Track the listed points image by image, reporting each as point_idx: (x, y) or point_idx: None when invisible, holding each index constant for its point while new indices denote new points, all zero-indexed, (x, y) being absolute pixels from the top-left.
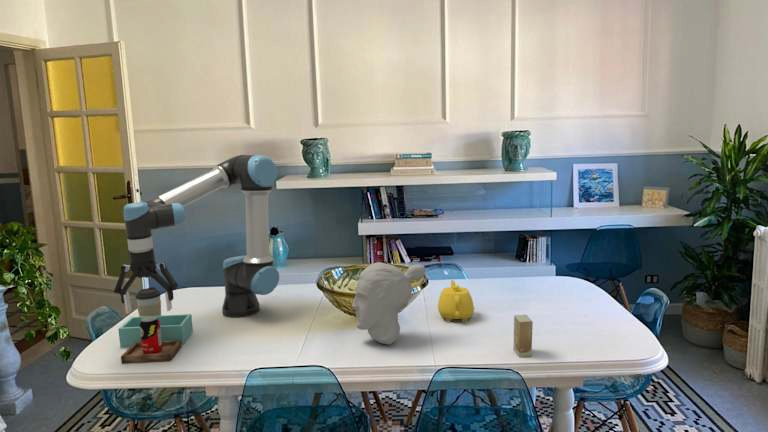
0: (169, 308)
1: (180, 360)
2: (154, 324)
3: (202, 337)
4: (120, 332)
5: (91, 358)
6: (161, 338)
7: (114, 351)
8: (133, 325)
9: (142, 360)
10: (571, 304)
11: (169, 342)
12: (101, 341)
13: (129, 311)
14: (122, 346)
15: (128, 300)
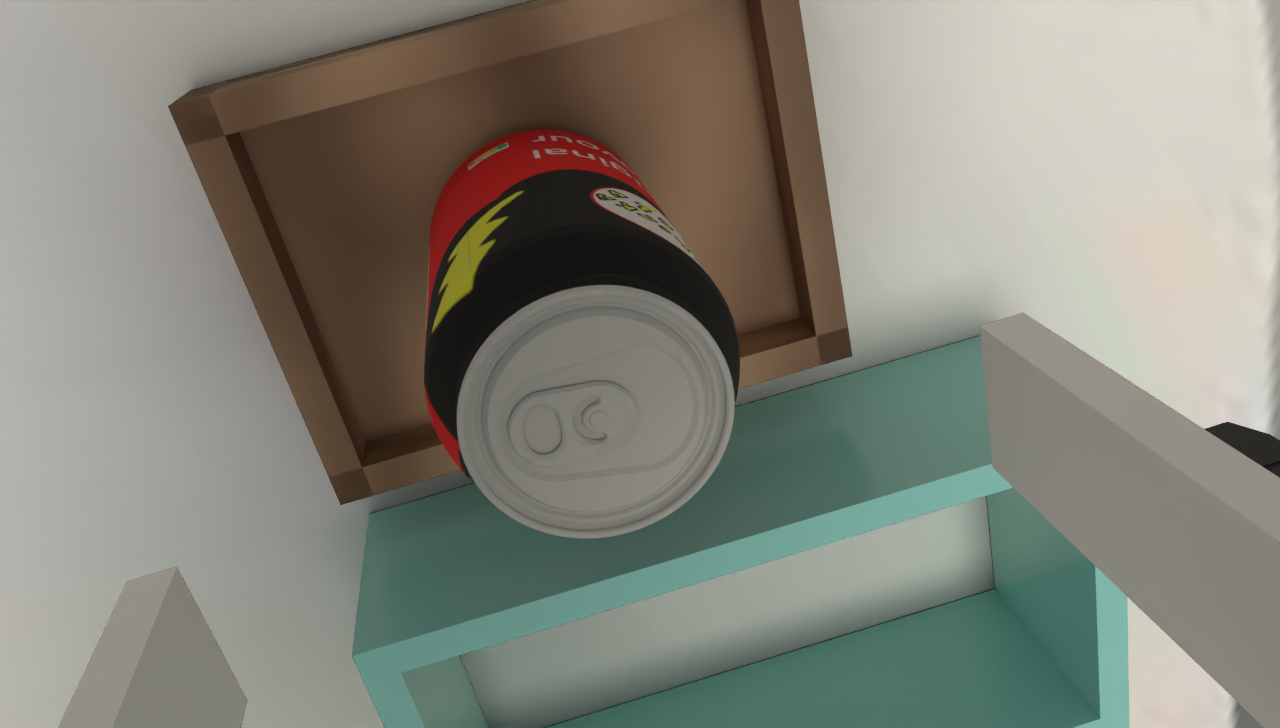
0: (116, 625)
1: (83, 130)
2: (441, 330)
3: (283, 691)
4: None
5: (1172, 33)
6: None
7: (1014, 235)
8: (1053, 649)
9: (526, 5)
10: None
11: None
12: (1249, 419)
13: (992, 393)
14: None
15: (1140, 540)
